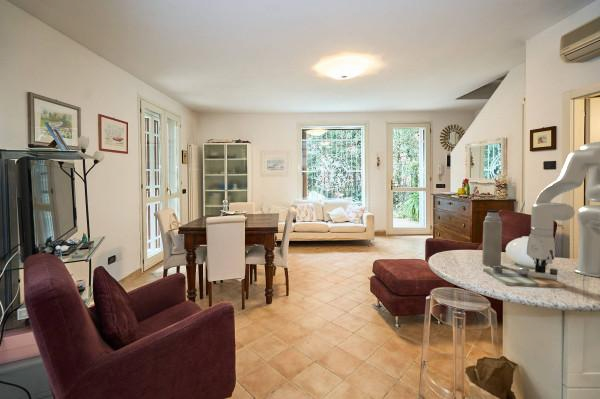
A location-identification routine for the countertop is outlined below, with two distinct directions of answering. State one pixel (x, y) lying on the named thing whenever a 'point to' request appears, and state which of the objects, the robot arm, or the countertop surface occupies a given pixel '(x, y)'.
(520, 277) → the lock board
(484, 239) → the thermos bottle
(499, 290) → the countertop surface
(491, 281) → the countertop surface
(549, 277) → the arm
